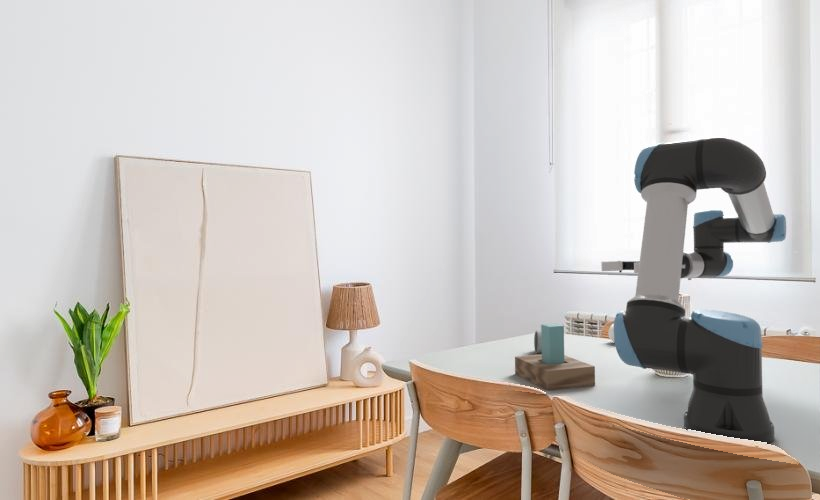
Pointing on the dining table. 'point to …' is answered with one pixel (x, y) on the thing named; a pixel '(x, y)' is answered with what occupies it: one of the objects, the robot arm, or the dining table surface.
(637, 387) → the dining table surface
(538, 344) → the gray can
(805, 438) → the dining table surface
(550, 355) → the teal peg
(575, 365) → the socket block
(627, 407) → the dining table surface
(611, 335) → the geometric ball
